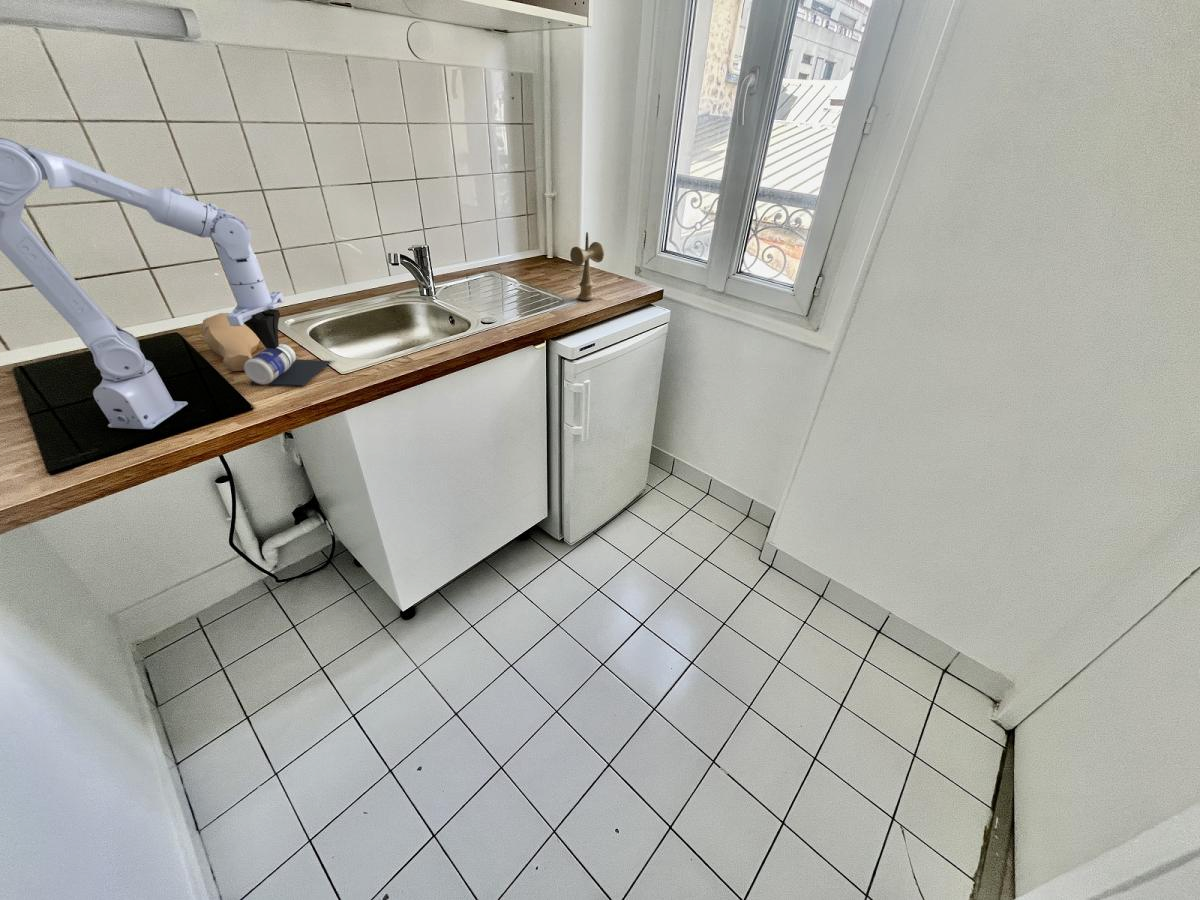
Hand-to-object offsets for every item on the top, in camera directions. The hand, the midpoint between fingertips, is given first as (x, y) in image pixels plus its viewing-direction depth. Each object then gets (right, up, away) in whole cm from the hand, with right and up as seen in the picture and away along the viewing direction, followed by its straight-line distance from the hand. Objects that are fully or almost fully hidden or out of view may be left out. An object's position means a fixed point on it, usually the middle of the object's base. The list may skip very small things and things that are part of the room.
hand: (272, 347), depth 101 cm
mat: (0, -4, +7) cm, 8 cm away
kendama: (+64, +27, +54) cm, 88 cm away
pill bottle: (-3, -6, -1) cm, 6 cm away
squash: (-16, 0, +13) cm, 20 cm away
